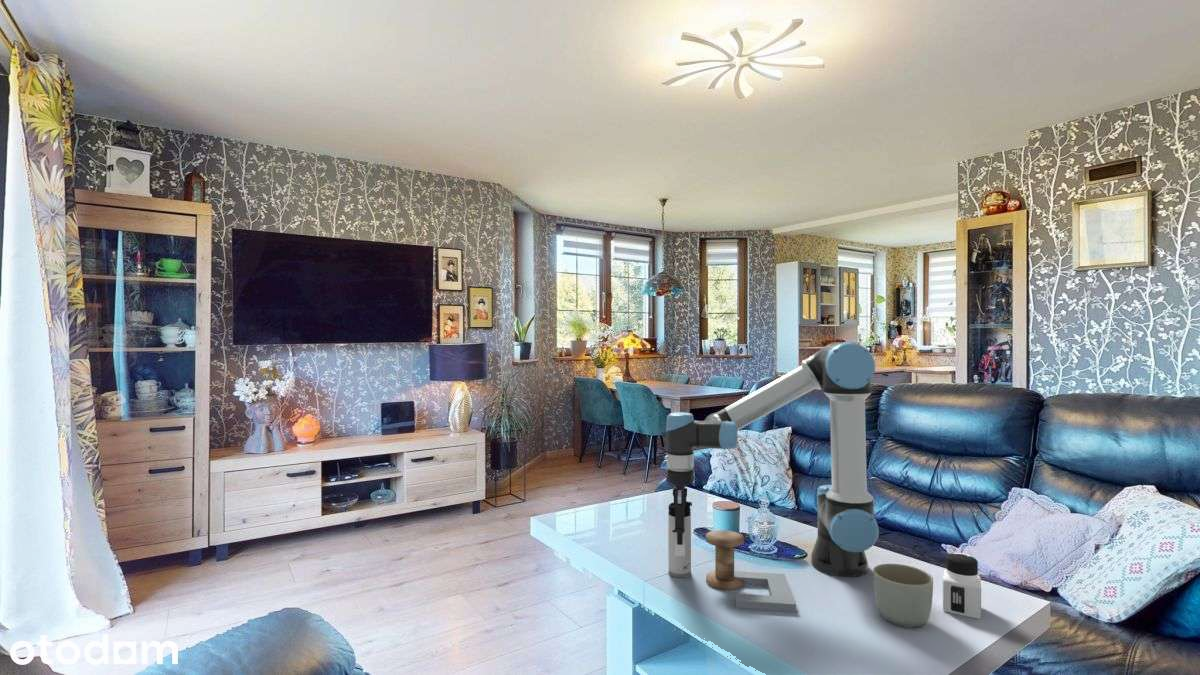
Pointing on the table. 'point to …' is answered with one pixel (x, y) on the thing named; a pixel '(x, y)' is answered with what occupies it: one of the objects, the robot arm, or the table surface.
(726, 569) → the bobbin
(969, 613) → the container
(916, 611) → the planter
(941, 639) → the table surface
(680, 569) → the travel mug
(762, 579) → the notched board
